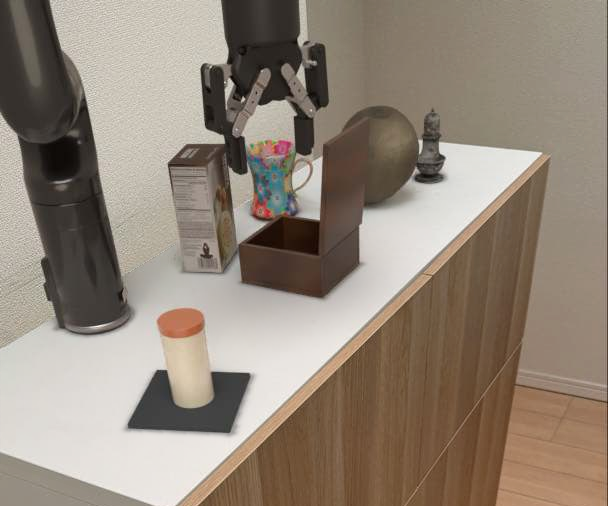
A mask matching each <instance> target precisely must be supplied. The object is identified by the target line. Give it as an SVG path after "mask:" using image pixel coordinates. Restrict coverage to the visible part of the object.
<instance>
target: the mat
mask: <svg viewBox="0 0 608 506" xmlns="http://www.w3.org/2000/svg"><path fill="white" fill-rule="evenodd" d="M211 374H212V381H213V387H214V394H215V395H214V398H213V400H212V401H211V402H210V403H208V404H206V405H204V406H202V407H198V408H183V407H179V406H177V405H176V404H175V403H174V402H173V398H172V393H171V388H170V383H169V377H168V372H167V369H156V371H155V373H154V374H153V376H152V378H151V380H150V382H149V383H148V385H147V387H146V389H145V391H144V393H143V395H142V396H141V399H139V402H138V404H137V406H136V407H135V409H134V410H133V413H132V415H131V417H130V418H129V421H128V423H127V427H128V429H142V430H143V429H144V430H145V429H147V430H164V431H165V430H166V431H167V430H168V431H189V432H207V433H208V432H210V433H211V432H212V433H230V432H231V430H232V427H233V425H234V422H235V419H236V416H237V414H238V410H239V408H240V406H241V403H242V399H243V397H244V395H245V392H246V390H247V387H248V383H249V380H250V378H251V373H250V372H238V371H237V372H235V371H211Z"/></svg>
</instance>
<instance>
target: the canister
mask: <svg viewBox="0 0 608 506" xmlns="http://www.w3.org/2000/svg"><path fill="white" fill-rule="evenodd" d="M156 325H157V329H158V333H159V336H160V340H161V347H162V350H163V356H164V361H165V368H166V370H167V372H168V377H169V383H170V388H171V393H172V398H173V402H174V403H175V404H176V405H177V406H179V407H183V408H198V407H202V406H204V405H206V404H208V403H210V402H211V401H212V400H213V398H214V395H215V394H214V387H213V381H212V374H211V372H212V368H211V361H210V355H209V349H208V341H207V334H206V327H205V326H206V322H205V315H204V313H203V312H202V311H201V310H198V309H196V308H190V307H180V308H174V309H169V310H167V311H165V312H163V313H161V314H160V315H159V316H158V318H157V319H156Z"/></svg>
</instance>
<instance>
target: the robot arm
mask: <svg viewBox="0 0 608 506" xmlns="http://www.w3.org/2000/svg"><path fill="white" fill-rule="evenodd" d="M51 5H52V4H51V0H0V115H1V117H2V119H3V120H4V121H5V123H6V124H7V126H8V127H9V128H10V129H11V130H12V131H13V133H15V134H16V137H17V140H18V146H19V149H20V156H21V162H22V176H23V184H24V187H25V190H26V194H27V197H28V200H29V204H30V207H31V211H32V215H33V218H34V222H35V225H36V228H37V232H38V235H39V239H40V243H41V245H42V249H43V253H44V256H43V257H42V258H41V260H40V266H41V269H42V274H43V276H44V280H45V282H44V283H43V284H42V286H43V289H44V293H45V297H46V300H47V302H51V304H52V308H53V310H54V314H55V318H56V322H57V326H58V327H59V328H66V329H67V330H68V331H70V332H74V333H78V334H96V333H102V332H106V331H111V330H113V329H116V328H119V326H122V325H123V324H124V323H125V322H127V321H128V319H129V318H130V316H131V310H130V309H131V308H130V305H129V304H128V297H127V296H128V292H129V290H128V287H127V282H125V283H124V279H123V276H122V271H121V268H120V267H121V266H120V263H119V258H118V255H117V249H116V244H115V239H114V235H113V231H112V226H111V221H110V217H109V213H108V212H109V211H108V209H107V208H108V207H107V203H106V199H105V194H104V190H103V185H102V181H101V175H100V169H99V168H100V166H99V156H98V150H97V145H96V141H95V140H96V139H95V136H94V135H95V134H94V131H93V125H92V121H91V115H90V110H89V106H88V100H87V97H86V96H87V95H86V92H85V87H84V84H83V80H82V77H81V75H80V72H79V69H78V68H77V66H76V64H75V63H74V61H73V60H72V58H71V57H70V56H69V55H68V54H67V53H66V52H65V51H64V50H63V49H62V46H61V42H60V39H59V35H58V31H57V27H56V24H55V19H54V14H53V9H52V6H51ZM220 5H221V14H222V23H223V24H222V25H223V35H224V40H225V43H226V46H227V51H228V52H227V59H226V62H225V63H219V64H213V63H208V62H204V63H203V64H201V65H200V68H199V69H200V71H199V72H200V83H201V84H200V85H201V96H202V109H203V123H204V128H205V129H206V130H208V131H210V132H213V133H216V134H217V135H220V136H223V138H224V139H223V140H224V144H225V149H226V157H227V164H228V168H229V169H231V171H232V172H233V173H235V174H237V175H239V176H243V175H246V174H248V172H249V170H248V169H249V166H248V163H247V156H246V146H247V145H246V138H245V137H246V136H243V133H244V130H245V128H246V125H247V123H248V120H249V119H250V118H251V117H252V116H254V113H255V111H256V109H257V106H260V107H261V106H265V105H269V104H270V103H272V102H282V101H286V102H287V103H288V104H289V106H290V107H291V109H292V110H293V112H294V113H295V114H296V115H293V133H294V143H295V150H296V152H297V154H298V155H301V156H302V157H307V156H311V155H312V154H313V153H312V152H313V149H314V147H315V121H314V117H315V116H316V113H317V112H318V111H319V110H320V109H322V108H324V109H325V108H327V107H328V105H329V104H330V103H329V102H330V95H329V82H328V66H327V54H326V46H325V45H324V43H320V42H316V41H312V40H305V41H304V42H303V43H302V45H301V46H300V45H299V40H298V39H299V37H300V35H301V17H300V15H301V14H300V13H301V12H300V0H220ZM301 66H302V68H303V72H304V84H305V86H304V85H303V84H302V82H301V80H300V79H299V77H298V76H297V75H298V72H299V70H300V68H301ZM229 79H230V80H231V82H232V84H233V85H232V89H231V91H230V92H229V95H228V98H227V100H226V88H228V86H229V82H228V80H229ZM243 99H244V100H243ZM242 100H243V101H242Z"/></svg>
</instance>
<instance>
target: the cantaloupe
mask: <svg viewBox="0 0 608 506" xmlns="http://www.w3.org/2000/svg"><path fill="white" fill-rule="evenodd" d="M364 117H369V118H371V119H370V131H369V144H368V156H367V168H366V180H365V192H364V204H367V205H368V204H369V205H370V204H371V205H372V204H377V203H378V204H379V203H380V202H383V201H385V200H388V199H390V198H392V197H393V196H394V195H396V193H397V192H398V191H400V190H401V189H402V188H403V187H404V186H405V185H406V184H407V183H408V182H409V180H410V179H411V177H412V176H413V174H414V172H415V170H416V169H417V168H416V165H417V161H418V156H419V154H420V142H419V138H418V134H417V132H416V129H415V127H414V125H413V124H412V122H411V121H410V120H409V119H408V117H406V115H404V114H403V113H402V112H401V111H399V110H398V109H397V108H395V107H393V106H392V107H391V106H388V105H374V106H372V105H371V106H368V107H364V108H362V109H361V110H358V111H357V112H356V113H354V114H353V115H352V116H351V117H350V118H348V120H347V121H346V122H345V124H344V125H343V127H342V129H341V131H340V133H341V132H343V131H344V130H346V129H347V128H349V127H351V126H352V125H354V124H355V123H357V122H358V121H360V120H361V119H363V118H364Z"/></svg>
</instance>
